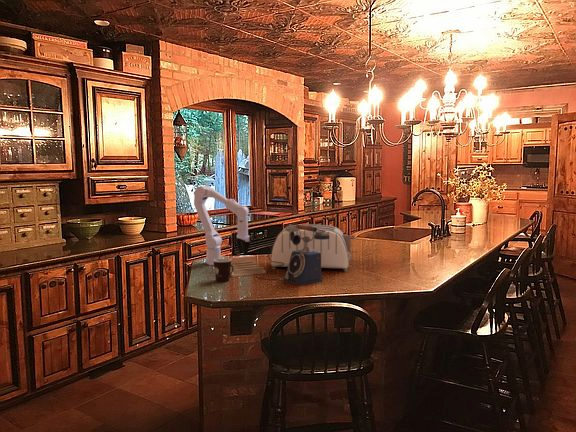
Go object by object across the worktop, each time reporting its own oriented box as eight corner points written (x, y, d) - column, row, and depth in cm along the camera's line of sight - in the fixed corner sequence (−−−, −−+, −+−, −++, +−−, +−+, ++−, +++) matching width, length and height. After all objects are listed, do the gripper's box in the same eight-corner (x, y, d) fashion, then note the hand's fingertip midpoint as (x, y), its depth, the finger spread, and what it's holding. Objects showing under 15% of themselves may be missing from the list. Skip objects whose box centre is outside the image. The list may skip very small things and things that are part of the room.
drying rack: (222, 269, 253) (221, 263, 253) (253, 266, 261) (253, 260, 261) (232, 276, 238) (232, 270, 238) (265, 273, 246) (265, 267, 246)
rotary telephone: (247, 275, 243) (247, 222, 240) (282, 269, 256) (282, 219, 253) (298, 293, 211) (298, 232, 207) (334, 285, 224) (335, 227, 221)
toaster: (354, 272, 248) (355, 230, 246) (269, 269, 254) (269, 228, 252) (354, 263, 269) (355, 224, 267) (276, 261, 275) (276, 223, 273)
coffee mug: (212, 279, 233) (211, 259, 232) (229, 277, 236) (229, 257, 235) (217, 285, 222) (216, 264, 221) (235, 283, 225) (234, 262, 224)
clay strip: (230, 266, 262) (230, 257, 262) (253, 264, 269) (253, 255, 268) (231, 267, 260) (231, 258, 260) (255, 264, 266) (255, 256, 266)
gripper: (254, 229, 257) (254, 254, 259) (244, 226, 270) (245, 250, 272) (242, 230, 254) (242, 255, 256) (232, 227, 267) (233, 251, 269)
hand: (243, 252), depth 264 cm, fingers open, 7 cm apart
